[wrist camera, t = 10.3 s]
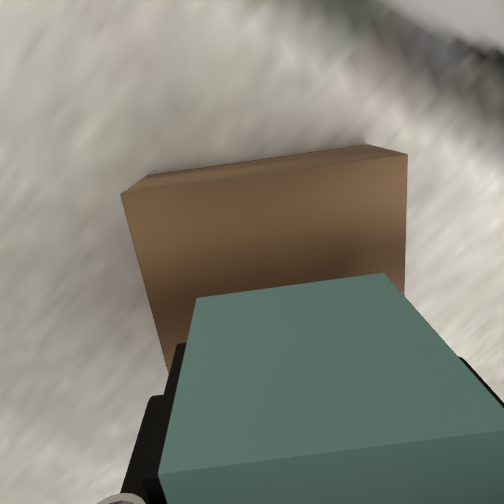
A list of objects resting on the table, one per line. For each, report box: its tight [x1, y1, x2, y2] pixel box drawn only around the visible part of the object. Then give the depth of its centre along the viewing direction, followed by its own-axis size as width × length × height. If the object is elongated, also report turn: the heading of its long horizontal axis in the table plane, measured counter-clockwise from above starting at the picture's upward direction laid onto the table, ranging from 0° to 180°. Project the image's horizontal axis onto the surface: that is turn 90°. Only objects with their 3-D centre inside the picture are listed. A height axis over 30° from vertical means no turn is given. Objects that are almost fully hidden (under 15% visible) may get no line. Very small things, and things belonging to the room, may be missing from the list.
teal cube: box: [158, 273, 504, 504], centre depth 8 cm, size 5×5×5 cm
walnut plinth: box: [121, 145, 408, 373], centre depth 16 cm, size 10×10×4 cm
